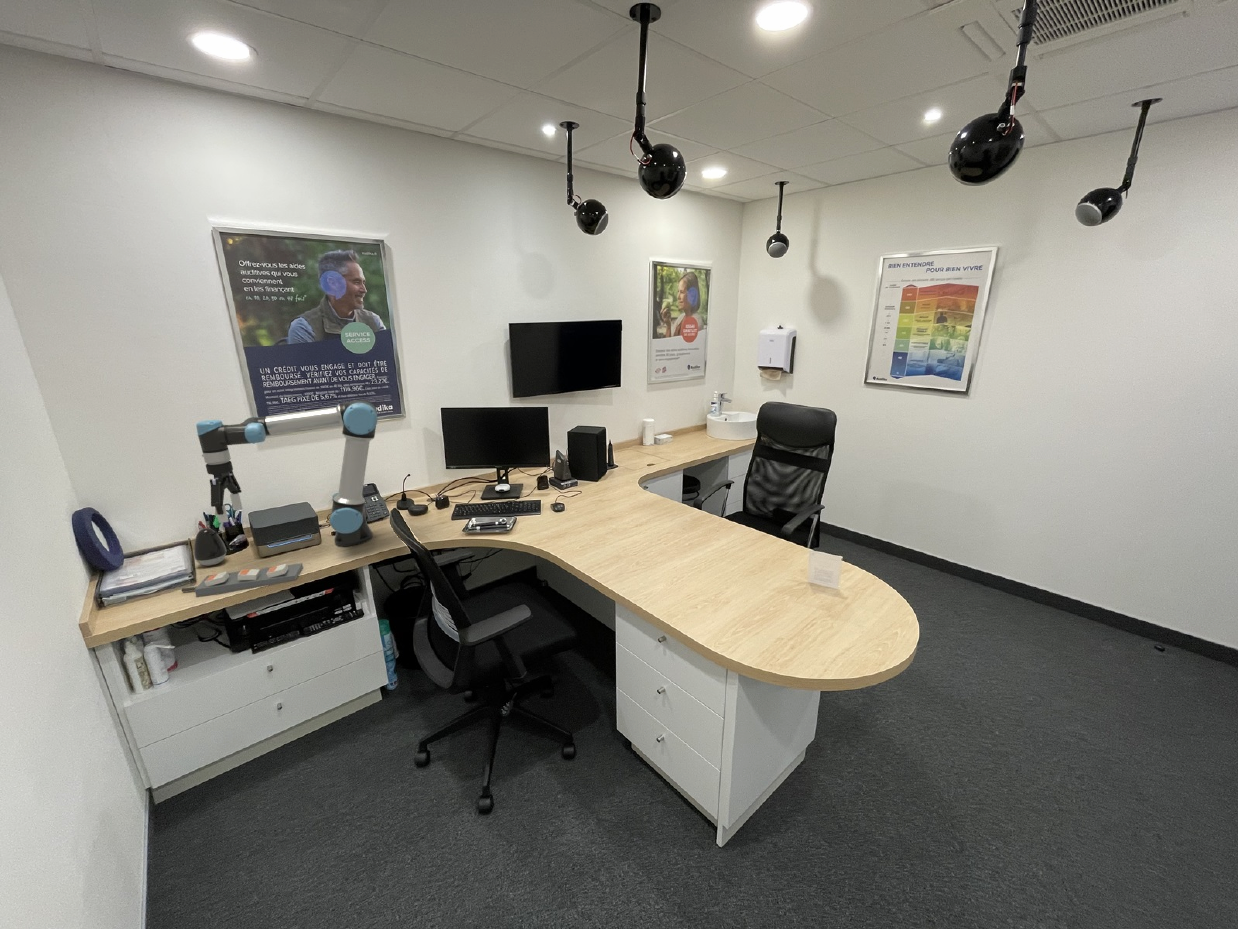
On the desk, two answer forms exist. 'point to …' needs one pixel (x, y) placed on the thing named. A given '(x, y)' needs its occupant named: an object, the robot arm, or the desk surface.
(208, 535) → the dark grey rounded dome
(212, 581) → the rocker
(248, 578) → the block
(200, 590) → the power strip
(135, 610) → the desk surface
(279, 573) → the rocker
